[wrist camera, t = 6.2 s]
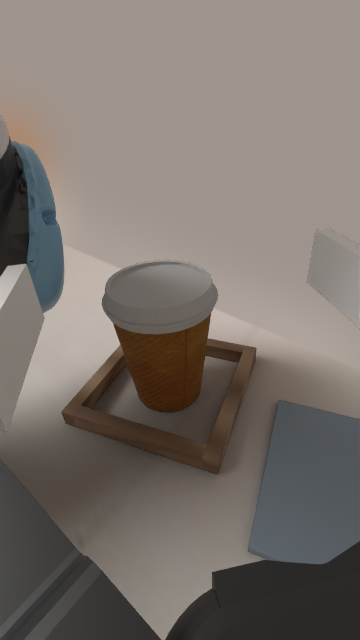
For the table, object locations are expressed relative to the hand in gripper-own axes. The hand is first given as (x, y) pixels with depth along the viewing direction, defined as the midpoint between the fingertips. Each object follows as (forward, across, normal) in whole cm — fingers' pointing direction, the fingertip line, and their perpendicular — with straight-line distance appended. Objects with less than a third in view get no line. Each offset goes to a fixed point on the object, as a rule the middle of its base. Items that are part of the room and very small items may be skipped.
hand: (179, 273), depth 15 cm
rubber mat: (-3, +11, -17) cm, 21 cm away
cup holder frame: (+10, 0, -17) cm, 20 cm away
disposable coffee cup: (+10, 0, -17) cm, 20 cm away
